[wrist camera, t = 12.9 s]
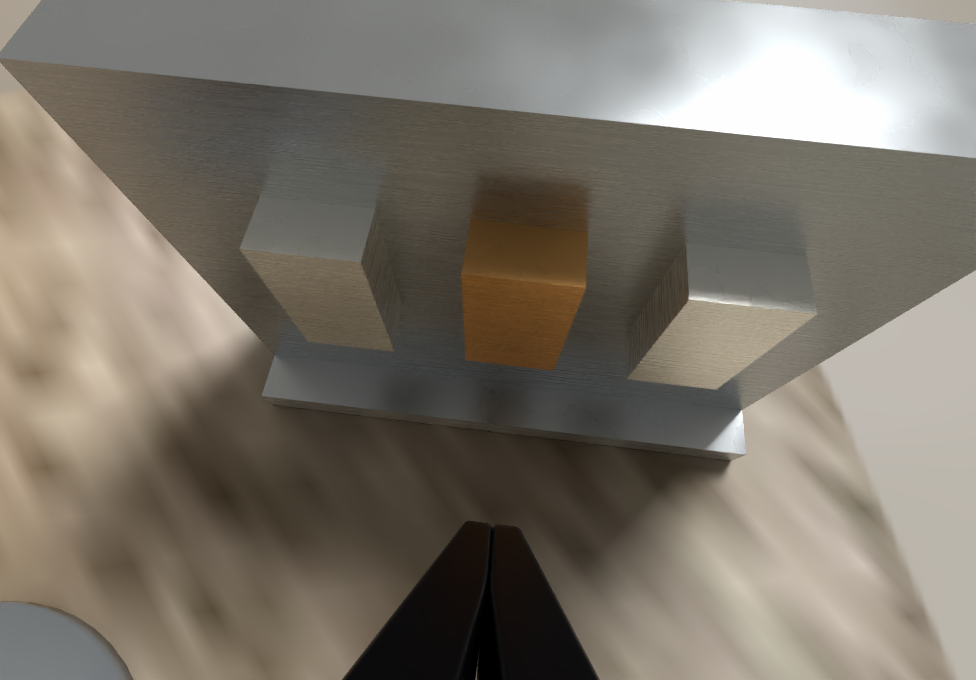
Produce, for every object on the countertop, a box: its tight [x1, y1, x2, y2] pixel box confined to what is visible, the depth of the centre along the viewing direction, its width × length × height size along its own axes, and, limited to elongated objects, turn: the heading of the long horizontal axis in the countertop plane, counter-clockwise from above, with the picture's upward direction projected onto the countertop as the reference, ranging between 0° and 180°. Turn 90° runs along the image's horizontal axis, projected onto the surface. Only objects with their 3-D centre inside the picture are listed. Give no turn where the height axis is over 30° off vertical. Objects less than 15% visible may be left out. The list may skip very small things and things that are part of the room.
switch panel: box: [0, 0, 976, 461], centre depth 13 cm, size 6×16×12 cm, turn 83°
